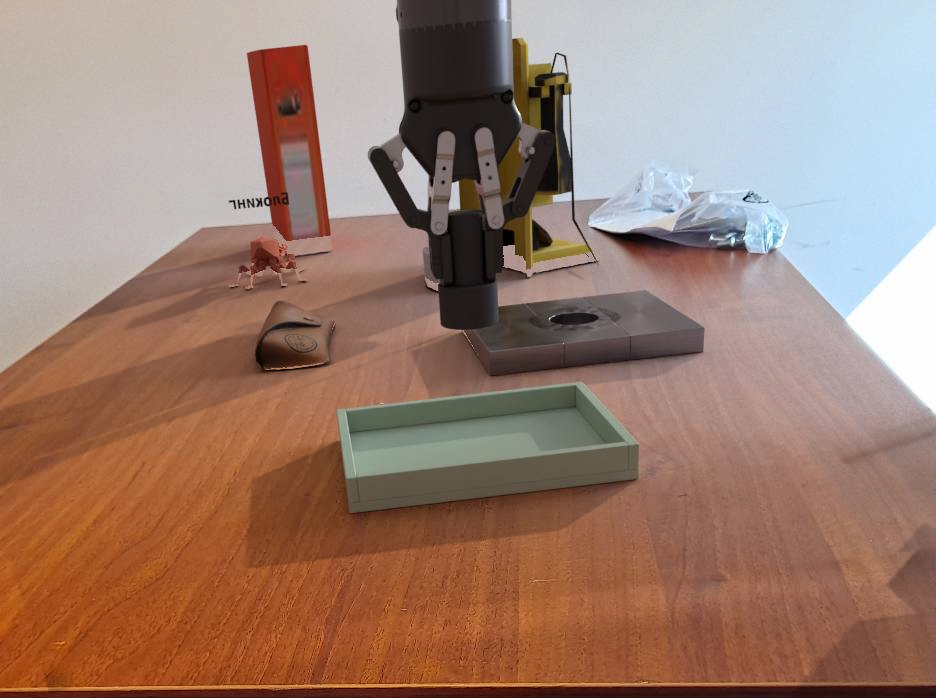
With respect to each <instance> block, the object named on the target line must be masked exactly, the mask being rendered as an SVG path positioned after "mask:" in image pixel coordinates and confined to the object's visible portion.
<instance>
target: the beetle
mask: <svg viewBox="0 0 936 698" xmlns="http://www.w3.org/2000/svg"><path fill="white" fill-rule="evenodd" d="M281 195H286V197H283V198H282V200H281V202H282V203H283V204H284V205H289V199H288V192H284V193H281ZM275 198H277V201H278V204H280V205H282V203H281V202H280V199H279V196H274V197H273V202H274V206H276V200H275ZM245 200H246V201H245ZM267 200H268V202H267ZM284 200H286V202H284ZM236 201H237V202H236ZM255 201H256V202H257V203H256V205H255ZM228 203H229V204H231V203H232V204H233V210H237V207H238V210H240V209H241V210H242V207H243V209H246V208H247V209H251V207H252V208H253V209H255V208H259V207H261V208H262V207H264V206H265V207H269V206H271V205H272V200H271V198H270V197H268V196H265V197H264V198H262V197H259V198H258V197H255V198H251V200H250V198H246V199H245V198H242V202H241V201H240V199H230V200H228ZM236 203H237V204H236ZM246 205H247V206H246ZM269 208H270V207H269ZM282 246H283V247H280V246H279V243H278V240H276V239H274V238H269V237H264V236H261V237H260V236H259V238H256V239H254V240H252V241H250V263H251V262H252V263H254V265H253V266H251V265H250V267H247V266H246V265H245V264H239V265H238V272H237V274H238V273H242V274H243V273H245V272H247V271H250V270H251V275H253V274H255V273H258V272H260V271H263V270H265V269H266V270H267V267H270V270H271V269H272V270H273V271H275V272H277V273H281V274H282V270H281V269H280V268H286V269H291V268H292V270H293V269H297V267H296V263H297V261H296V262H295V261H294V260H296V257H294V254H288V255H286V252H287V250H288V249H287V248H288V246H286V245H285V244H282ZM285 255H286V256H287V257H286V259H284V257H285ZM292 260H293V261H292ZM285 261H286V262H289V263H288V265H287V266H286V264H285V263H286V262H285ZM272 270H271V271H272Z"/></svg>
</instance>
